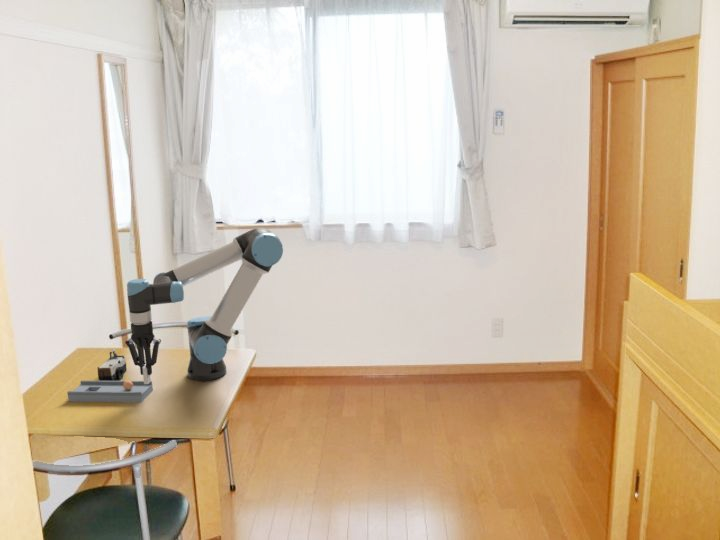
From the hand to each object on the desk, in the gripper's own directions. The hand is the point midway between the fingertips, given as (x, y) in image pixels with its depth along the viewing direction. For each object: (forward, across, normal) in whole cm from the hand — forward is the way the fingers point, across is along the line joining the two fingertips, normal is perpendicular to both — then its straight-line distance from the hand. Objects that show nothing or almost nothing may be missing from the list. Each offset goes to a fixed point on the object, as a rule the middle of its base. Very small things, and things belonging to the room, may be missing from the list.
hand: (147, 382), depth 278 cm
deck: (+6, +15, 0) cm, 16 cm away
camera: (+6, +21, -18) cm, 28 cm away
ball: (+1, +8, 0) cm, 8 cm away
